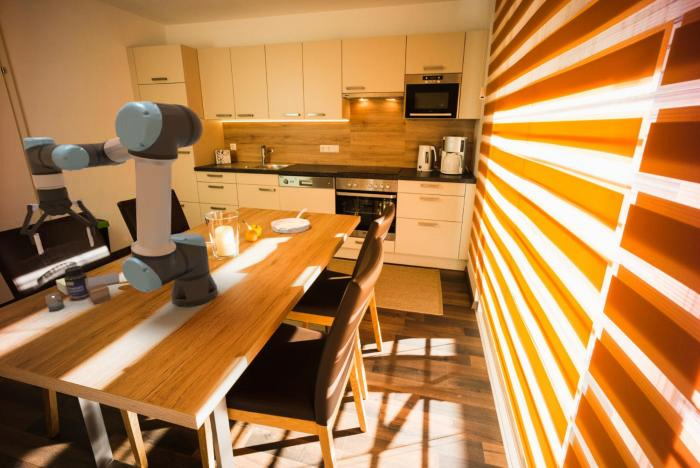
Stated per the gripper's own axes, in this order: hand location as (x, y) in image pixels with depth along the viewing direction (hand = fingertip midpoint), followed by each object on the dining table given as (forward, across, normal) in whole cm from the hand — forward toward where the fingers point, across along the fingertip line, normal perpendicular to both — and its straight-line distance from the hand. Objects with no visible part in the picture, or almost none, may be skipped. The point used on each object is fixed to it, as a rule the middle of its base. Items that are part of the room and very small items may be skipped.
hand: (67, 249), depth 114 cm
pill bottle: (+18, 0, 0) cm, 18 cm away
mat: (+18, -6, -11) cm, 22 cm away
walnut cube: (+18, -6, +7) cm, 21 cm away
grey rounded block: (+18, +6, +6) cm, 20 cm away
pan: (+18, -104, -43) cm, 115 cm away
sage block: (+18, +4, -9) cm, 21 cm away
